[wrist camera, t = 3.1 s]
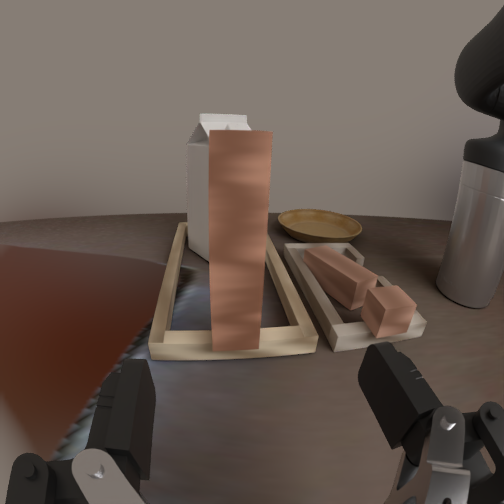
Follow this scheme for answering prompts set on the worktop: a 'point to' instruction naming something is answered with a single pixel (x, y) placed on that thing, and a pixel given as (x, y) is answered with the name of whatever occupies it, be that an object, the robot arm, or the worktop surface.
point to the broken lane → (351, 296)
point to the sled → (234, 264)
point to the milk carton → (203, 176)
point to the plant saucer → (319, 226)
